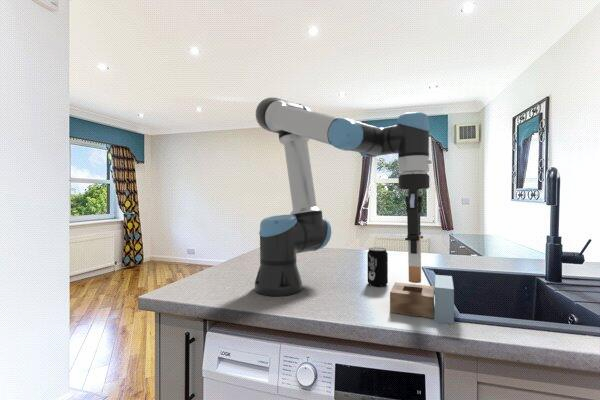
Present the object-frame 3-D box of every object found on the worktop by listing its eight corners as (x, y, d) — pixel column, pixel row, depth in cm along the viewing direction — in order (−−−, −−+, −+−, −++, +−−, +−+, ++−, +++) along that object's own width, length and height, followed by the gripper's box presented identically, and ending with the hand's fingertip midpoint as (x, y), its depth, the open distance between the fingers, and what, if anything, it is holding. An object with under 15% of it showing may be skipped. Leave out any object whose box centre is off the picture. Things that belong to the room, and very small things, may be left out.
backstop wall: (434, 321, 72) (434, 287, 72) (435, 304, 84) (435, 274, 84) (454, 324, 71) (453, 289, 71) (452, 306, 83) (451, 276, 83)
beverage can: (388, 287, 100) (388, 250, 100) (367, 286, 101) (367, 250, 101) (387, 282, 107) (386, 247, 106) (367, 281, 108) (367, 246, 108)
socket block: (390, 311, 78) (389, 292, 78) (395, 300, 87) (395, 282, 87) (433, 318, 74) (433, 297, 74) (434, 304, 83) (433, 286, 83)
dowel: (408, 282, 79) (407, 235, 80) (409, 279, 82) (408, 234, 82) (420, 283, 78) (420, 235, 78) (421, 280, 81) (420, 234, 81)
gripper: (428, 170, 71) (429, 272, 71) (430, 175, 86) (431, 260, 86) (394, 172, 75) (395, 269, 75) (401, 176, 89) (402, 258, 89)
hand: (414, 264), depth 80 cm, fingers closed on dowel, 3 cm apart
